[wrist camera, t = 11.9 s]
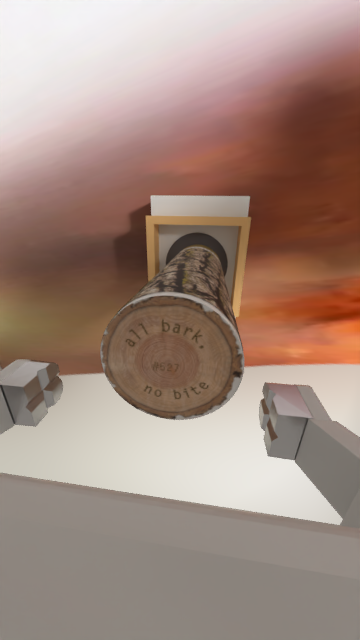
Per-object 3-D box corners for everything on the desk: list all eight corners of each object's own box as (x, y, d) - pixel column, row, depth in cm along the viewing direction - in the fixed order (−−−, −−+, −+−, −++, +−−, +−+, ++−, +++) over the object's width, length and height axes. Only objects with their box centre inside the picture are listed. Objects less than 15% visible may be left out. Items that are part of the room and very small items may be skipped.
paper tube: (175, 242, 33) (92, 288, 10) (223, 245, 32) (257, 302, 9) (173, 289, 35) (105, 411, 12) (218, 292, 35) (233, 428, 12)
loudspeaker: (244, 199, 34) (254, 193, 27) (231, 312, 41) (236, 332, 34) (158, 198, 35) (144, 193, 28) (160, 308, 42) (150, 326, 35)
